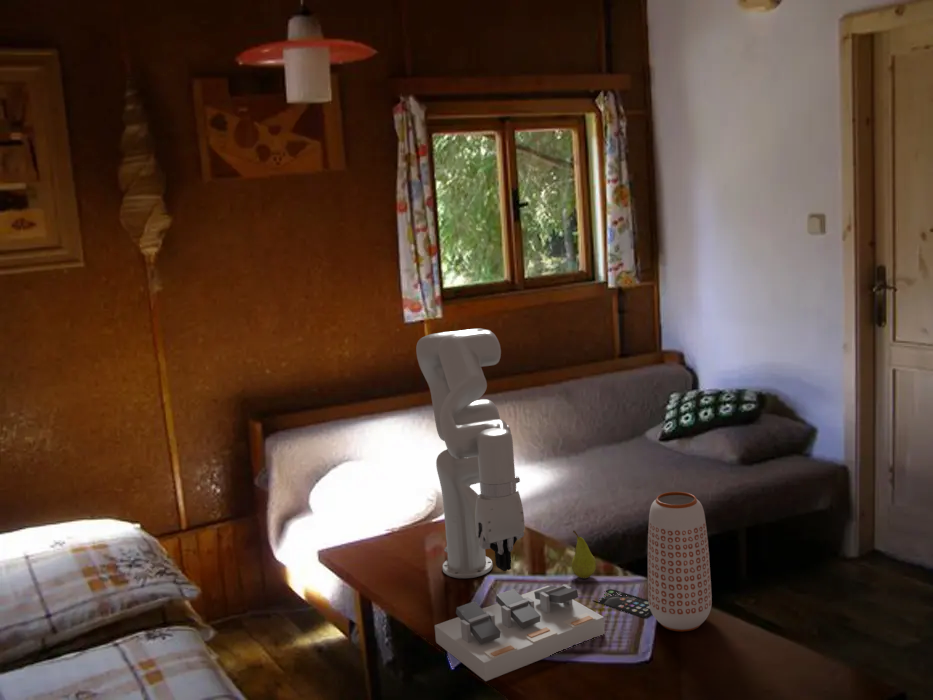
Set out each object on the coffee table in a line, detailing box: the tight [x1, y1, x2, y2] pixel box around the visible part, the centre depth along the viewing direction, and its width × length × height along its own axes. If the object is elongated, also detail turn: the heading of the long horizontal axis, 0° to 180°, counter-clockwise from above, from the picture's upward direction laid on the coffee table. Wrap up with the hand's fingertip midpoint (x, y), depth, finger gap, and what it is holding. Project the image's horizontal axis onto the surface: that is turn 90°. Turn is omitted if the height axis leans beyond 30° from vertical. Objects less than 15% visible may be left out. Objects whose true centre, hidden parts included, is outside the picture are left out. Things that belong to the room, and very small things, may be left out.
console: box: [434, 583, 606, 682], centre depth 210 cm, size 20×30×8 cm, turn 121°
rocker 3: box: [534, 585, 579, 603], centre depth 215 cm, size 10×5×2 cm, turn 30°
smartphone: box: [598, 588, 653, 619], centre depth 223 cm, size 7×1×15 cm
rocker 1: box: [455, 600, 501, 644], centre depth 205 cm, size 10×5×2 cm, turn 32°
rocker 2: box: [495, 588, 541, 628], centre depth 210 cm, size 10×5×2 cm, turn 32°
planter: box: [647, 491, 713, 632], centre depth 210 cm, size 13×13×28 cm
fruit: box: [571, 530, 597, 579], centre depth 237 cm, size 6×6×12 cm
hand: (503, 568), depth 212 cm, fingers closed
